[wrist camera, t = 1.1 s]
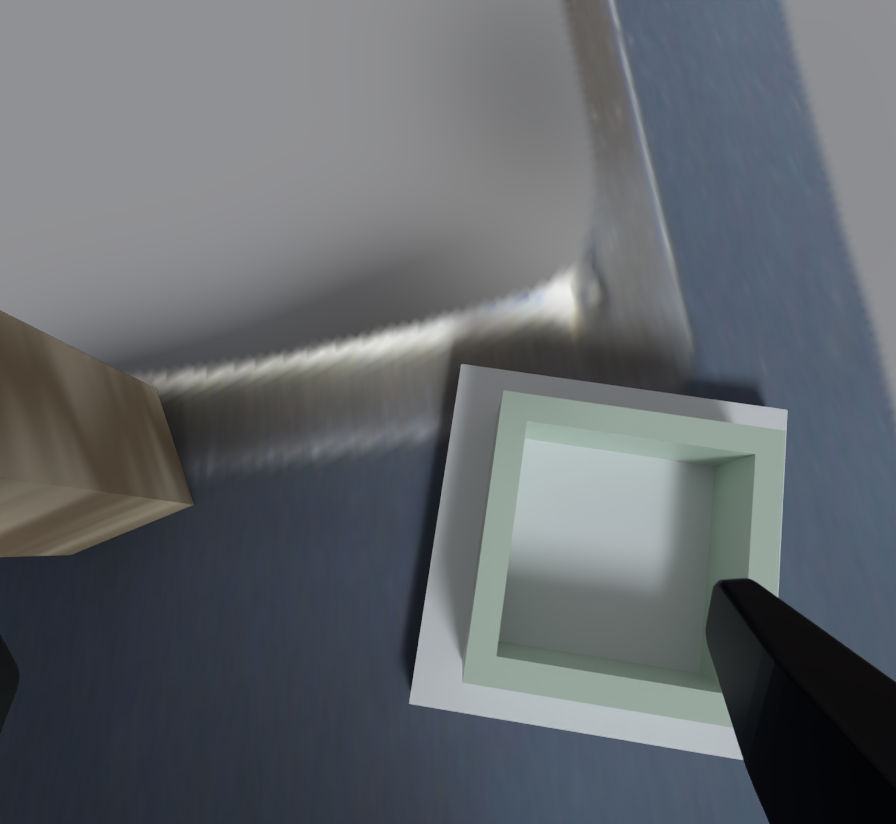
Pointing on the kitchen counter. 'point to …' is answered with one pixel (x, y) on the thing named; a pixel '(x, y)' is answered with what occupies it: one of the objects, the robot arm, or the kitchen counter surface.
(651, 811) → the kitchen counter surface
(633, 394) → the caddy
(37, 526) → the brown box
